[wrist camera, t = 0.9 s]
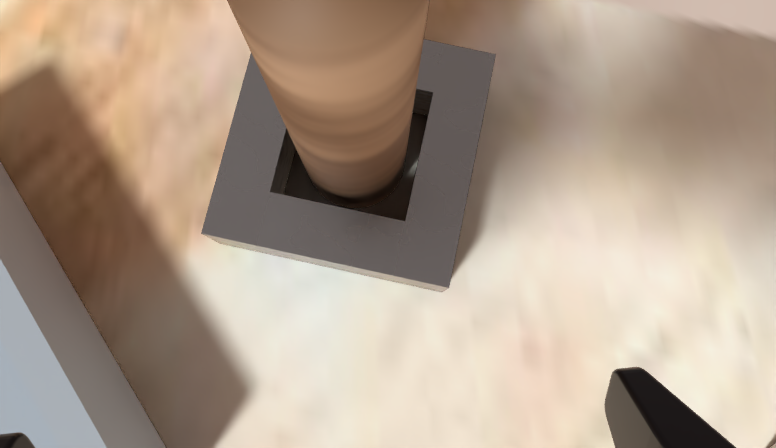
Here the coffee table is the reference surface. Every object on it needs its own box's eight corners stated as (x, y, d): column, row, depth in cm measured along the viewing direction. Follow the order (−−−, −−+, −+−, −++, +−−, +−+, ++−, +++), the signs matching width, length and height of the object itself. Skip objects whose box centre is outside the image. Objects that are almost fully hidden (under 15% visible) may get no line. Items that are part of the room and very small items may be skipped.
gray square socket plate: (484, 81, 25) (495, 54, 23) (441, 292, 24) (449, 288, 21) (275, 36, 25) (264, 5, 23) (219, 243, 24) (201, 233, 21)
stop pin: (423, 173, 24) (480, -26, 11) (340, 227, 24) (289, 91, 10) (369, 95, 25) (357, -190, 11) (287, 146, 25) (171, -85, 11)
